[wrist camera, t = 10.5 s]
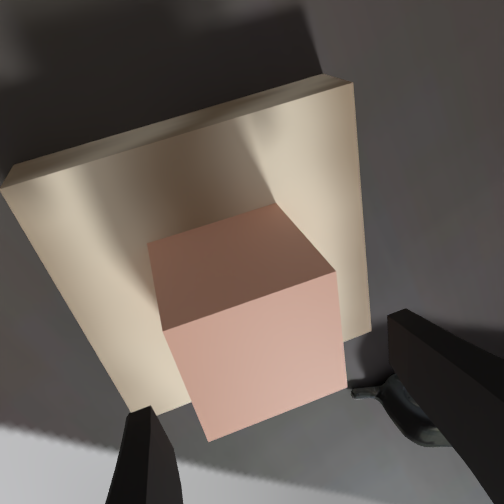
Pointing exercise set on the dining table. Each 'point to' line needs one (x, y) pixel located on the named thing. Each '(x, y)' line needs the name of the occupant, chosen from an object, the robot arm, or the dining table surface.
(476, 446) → the robot arm
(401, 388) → the mobile phone
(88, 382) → the dining table surface
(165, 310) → the terracotta cube
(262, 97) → the birch block
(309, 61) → the dining table surface
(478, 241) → the dining table surface
